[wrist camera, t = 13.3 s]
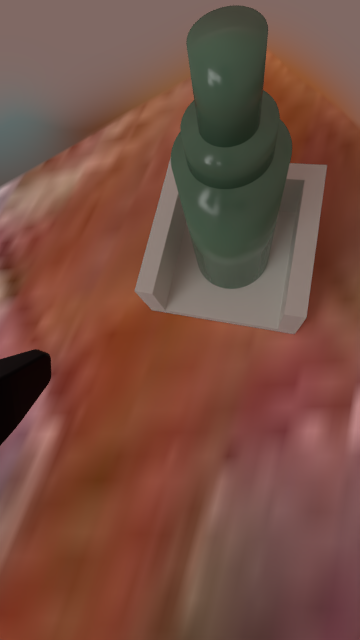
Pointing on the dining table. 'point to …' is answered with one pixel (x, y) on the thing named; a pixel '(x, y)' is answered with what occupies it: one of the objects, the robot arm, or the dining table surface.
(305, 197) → the u rest
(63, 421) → the dining table surface
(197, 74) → the glass bottle
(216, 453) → the dining table surface
